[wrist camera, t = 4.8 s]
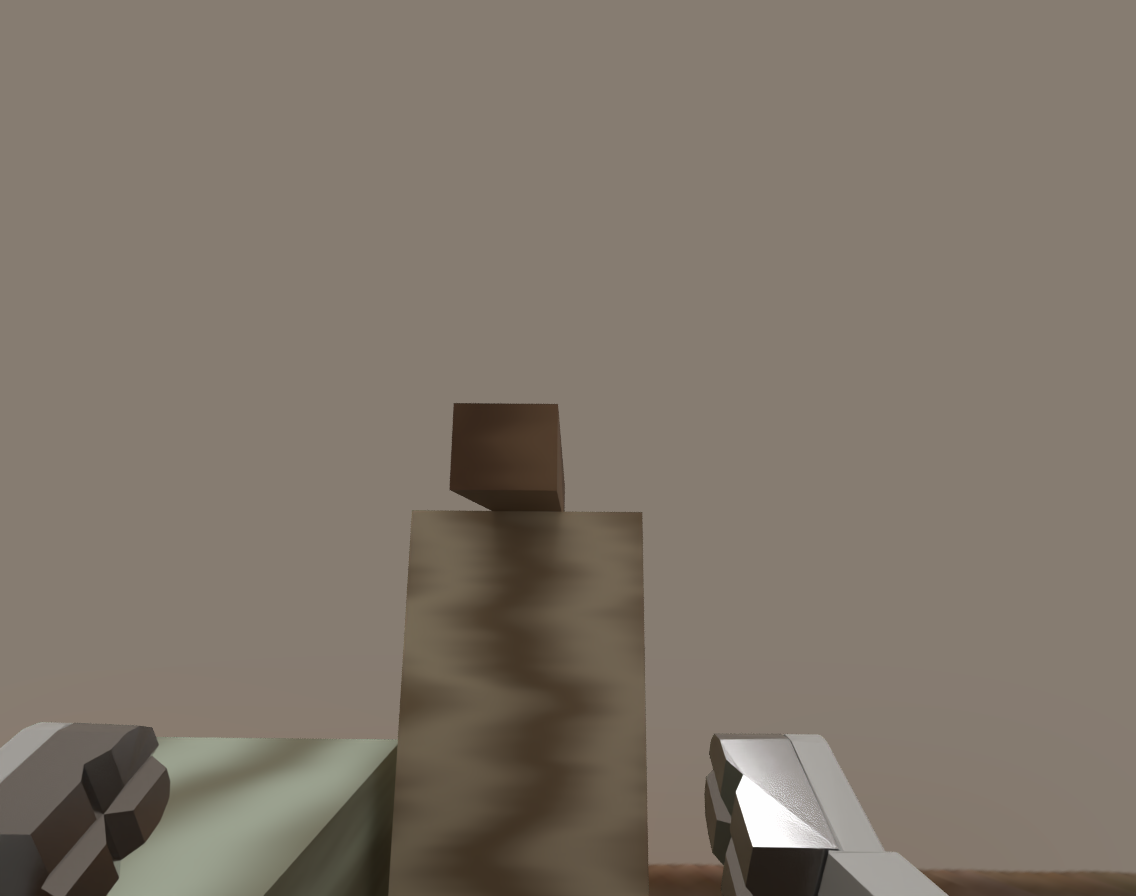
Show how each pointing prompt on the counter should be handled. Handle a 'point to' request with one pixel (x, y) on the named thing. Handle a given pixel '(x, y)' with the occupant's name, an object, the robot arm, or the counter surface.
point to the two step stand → (449, 740)
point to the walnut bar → (508, 456)
